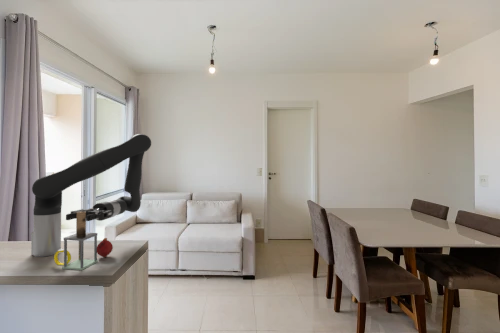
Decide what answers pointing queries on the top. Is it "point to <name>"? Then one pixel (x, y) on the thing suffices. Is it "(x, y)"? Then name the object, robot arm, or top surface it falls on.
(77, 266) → the mat
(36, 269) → the top surface
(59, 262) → the watch
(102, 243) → the onion
